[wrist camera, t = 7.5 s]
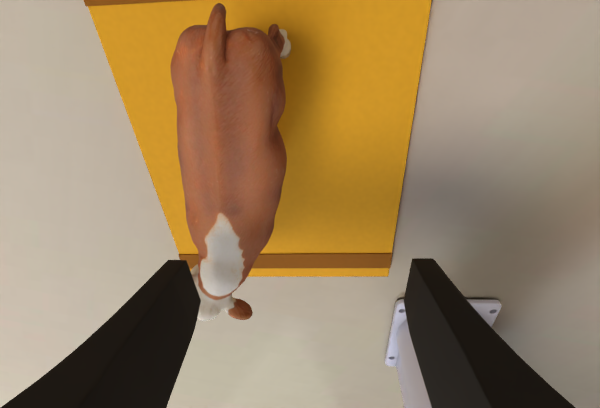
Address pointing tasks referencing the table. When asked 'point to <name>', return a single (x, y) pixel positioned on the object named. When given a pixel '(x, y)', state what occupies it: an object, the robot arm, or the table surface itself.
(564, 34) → the table surface
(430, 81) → the table surface
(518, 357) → the robot arm
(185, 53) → the bull figurine
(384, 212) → the towel
